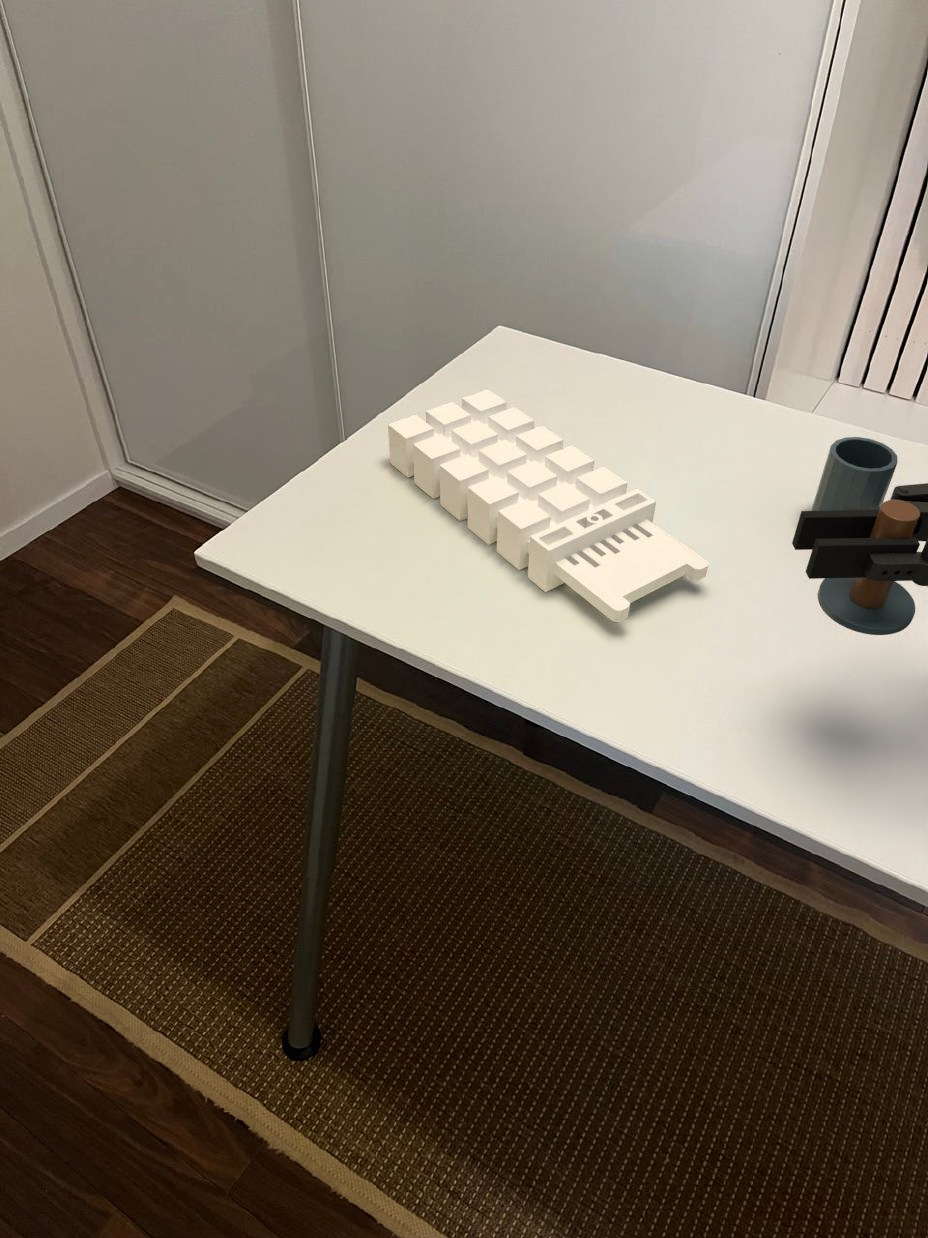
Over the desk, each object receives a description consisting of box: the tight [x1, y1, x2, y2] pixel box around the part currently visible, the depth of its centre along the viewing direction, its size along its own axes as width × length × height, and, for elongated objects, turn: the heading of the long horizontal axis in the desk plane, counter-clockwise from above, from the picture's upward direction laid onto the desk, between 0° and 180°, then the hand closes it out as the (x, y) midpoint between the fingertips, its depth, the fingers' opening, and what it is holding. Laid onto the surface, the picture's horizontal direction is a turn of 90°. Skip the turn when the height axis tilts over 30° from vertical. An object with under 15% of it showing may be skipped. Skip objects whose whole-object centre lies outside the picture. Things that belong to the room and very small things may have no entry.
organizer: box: [387, 389, 710, 623], centre depth 93 cm, size 13×5×35 cm
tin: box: [810, 436, 899, 511], centre depth 91 cm, size 6×6×8 cm
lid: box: [817, 499, 920, 636], centre depth 63 cm, size 6×6×9 cm
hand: (805, 544), depth 62 cm, fingers closed on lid, 2 cm apart
